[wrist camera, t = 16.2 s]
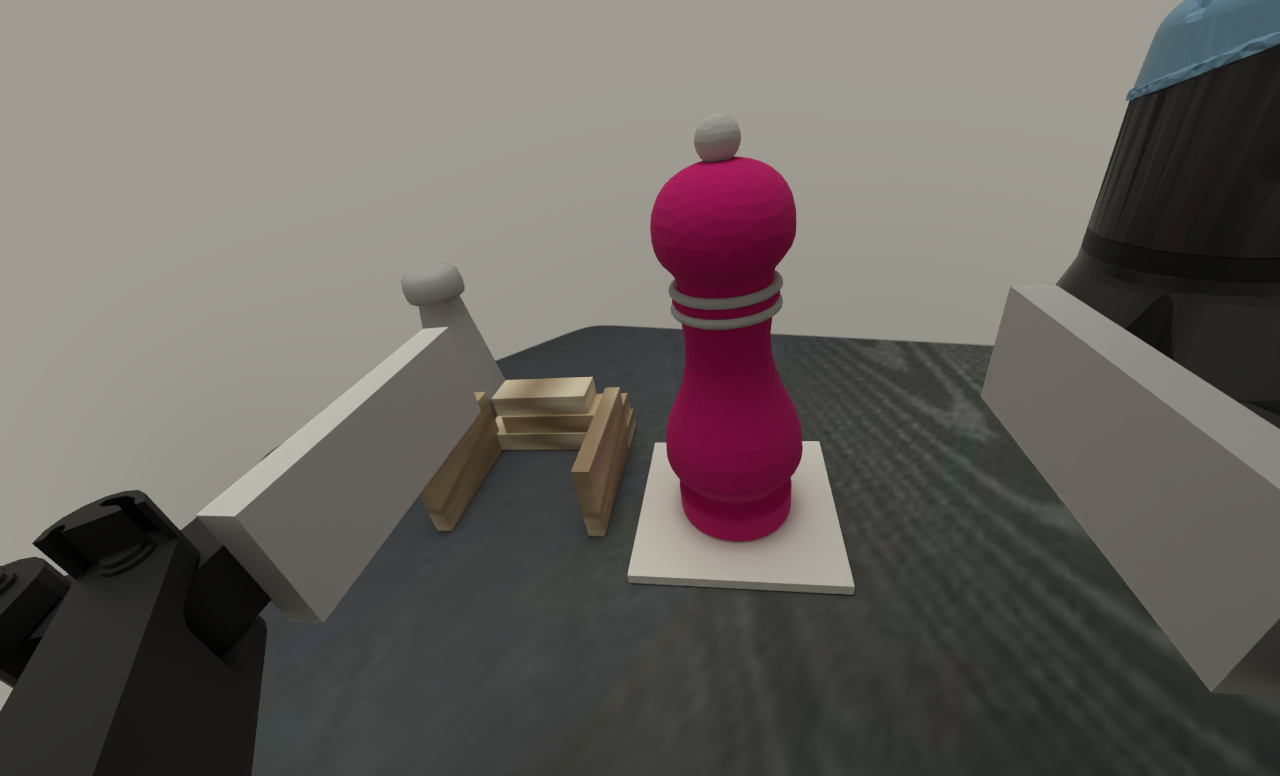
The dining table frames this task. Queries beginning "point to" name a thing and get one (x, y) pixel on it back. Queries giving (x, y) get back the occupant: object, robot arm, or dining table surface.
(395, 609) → the dining table surface
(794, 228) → the pepper mill
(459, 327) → the salt shaker
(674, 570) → the mat
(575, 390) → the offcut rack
